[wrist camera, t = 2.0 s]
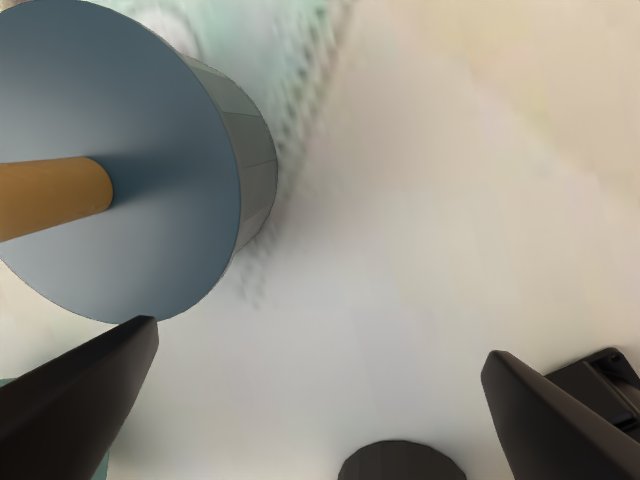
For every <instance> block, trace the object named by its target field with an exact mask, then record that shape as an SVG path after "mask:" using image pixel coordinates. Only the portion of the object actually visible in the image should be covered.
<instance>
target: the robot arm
mask: <svg viewBox="0 0 640 480" xmlns="http://www.w3.org/2000/svg"><path fill="white" fill-rule="evenodd" d="M158 345H159V337H158V327H157V320H156V318H155V317H154V316H147V315H138V316H136V317H134V318H132V319H130V320H128V321H126V322H124V323H122V324H120V325H118V326H116V327H114V328H113V329H111V330H109V331H107V332H105V333H103V334H101V335H99V336H97V337H95V338H93V339H91V340H89V341H88V342H86V343H84V344H82V345H80V346H78V347H76V348H74V349H72V350H70V351H68V352H66V353H65V354H63V355H61V356H59V357H57V358H55V359H53V360H51V361H49V362H47V363H45V364H43V365H41V366H40V367H38V368H36V369H34V370H32V371H30V372H28V373H26V374H24V375H22V376H20V377H18V378H16V379H15V380H13V381H11V382H9V383H7V384H5V385H3V386H1V387H0V480H92V478H93V476H94V474H95V473H96V471H97V469H98V467H99V465H100V464H101V462H102V460H103V458H104V457H105V455H106V453H107V451H108V449H109V448H110V446H111V444H112V442H113V441H114V439H115V437H116V435H117V433H118V432H119V430H120V428H121V426H122V425H123V423H124V421H125V419H126V417H127V416H128V414H129V412H130V410H131V408H132V406H133V404H134V402H135V400H136V398H137V396H138V393H139V391H140V389H141V386H142V384H143V382H144V380H145V377H146V375H147V373H148V370H149V368H150V366H151V363H152V361H153V359H154V356H155V354H156V352H157V349H158ZM614 355H615V356H614ZM612 356H614V357H613V358H611V357H612ZM481 382H482V386H483V389H484V392H485V396H486V399H487V402H488V406H489V409H490V412H491V416H492V419H493V422H494V426H495V429H496V432H497V435H498V438H499V441H500V443H501V446H502V448H503V451H504V453H505V456H506V458H507V461H508V463H509V466H510V468H511V470H512V473H513V475H514V478H515V480H640V378H639V377H638V375H637V374H636V373H635V371H634V370H633V368H632V367H631V365H630V364H629V362H628V361H627V360H626V358H625V357H624V355H623V354H622V353H621V352H619V351H618V350H617V349H615V348H608V349H605V350H603V351H600V352H598V353H596V354H594V355H592V356H589V357H587V358H585V359H583V360H580V361H578V362H576V363H574V364H572V365H569V366H567V367H565V368H563V369H561V370H558V371H556V372H554V373H552V374H549V375H547V376H545V377H543V376H542V375H540V374H539V373H538V372H536V371H535V370H533V369H532V368H530V367H529V366H528V365H526V364H525V363H523V362H522V361H520V360H519V359H518V358H516V357H515V356H513V355H512V354H510V353H509V352H506V351H497V350H493V351H491V352H490V353H489V355H488V357H487V360H486V362H485V364H484V367H483V369H482V372H481Z"/></svg>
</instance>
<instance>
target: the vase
mask: <svg viewBox="0 0 640 480" xmlns="http://www.w3.org/2000/svg"><path fill="white" fill-rule="evenodd" d="M338 480H467V479H466V477H465V474H464V473H463V472H462V471H461V470H460V469H459V468H458V467H457V466H456V465H455V464H454V463H453V461H452V460H451V459H449V458H448V457H446V456H444V455H442V454H440V453H439V452H437V451H435V450H433V449H431V448H429V447H426V446H422V445H418V444H414V443H409V442H405V441H398V442H380V443H377V444H374V445H371V446H368V447H365V448H361V449H359V450H358V451H357V452H356V453H354V454H353V455H352V456H351V457H349V458H348V459H347V460H346V461H345V463H344V465H343V467H342V469H341V471H340V473H339V475H338Z"/></svg>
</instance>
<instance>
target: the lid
mask: <svg viewBox="0 0 640 480" xmlns="http://www.w3.org/2000/svg"><path fill="white" fill-rule="evenodd" d="M244 209H245V193H244V179H243V173H242V167H241V161H240V157H239V154H238V150H237V147H236V143H235V140H234V137H233V134H232V132H231V129H230V127H229V125H228V122H227V120H226V117H225V115H224V113H223V111H222V110H221V108H220V106H219V104H218V103H217V101H216V99H215V97H214V95H213V94H212V92H211V91H210V89H209V88H208V86H207V85H206V84H205V82H204V81H203V80H202V78H201V77H200V75H199V74H198V73H197V71H196V70H195V69H194V68H193V67H192V66H191V65H190V64H189V63H188V62H187V60H186V59H185V58H184V57H183V56H182V55H181V54H180V53H179V52H178V51H177V50H176V49H174V48H173V47H172V46H171V45H170V44H169V43H167V42H166V41H165V40H164V39H163V38H162V37H160V36H159V35H157V34H156V33H154V32H153V31H151V30H150V29H148V28H147V27H145V26H144V25H142V24H141V23H139V22H137V21H135V20H133V19H131V18H129V17H127V16H125V15H123V14H121V13H118V12H116V11H114V10H112V9H110V8H106V7H103V6H100V5H97V4H94V3H91V2H87V1H81V0H34V1H29V2H24V3H21V4H19V5H16V6H14V7H11V8H9V9H6V10H4V11H2V12H1V13H0V259H1V260H2V261H3V262H4V263H5V264H6V265H7V266H8V267H9V268H10V269H11V270H12V271H13V272H14V273H15V274H16V275H17V276H18V277H19V278H20V279H21V280H23V281H24V282H25V283H26V284H27V285H28V286H30V287H31V288H32V289H34V290H35V291H36V292H38V293H39V294H40V295H42V296H43V297H45V298H47V299H48V300H50V301H52V302H53V303H55V304H57V305H58V306H60V307H62V308H65V309H67V310H69V311H71V312H73V313H75V314H78V315H81V316H84V317H86V318H89V319H93V320H97V321H101V322H105V323H112V324H122V323H124V322H126V321H128V320H130V319H132V318H134V317H136V316H138V315H147V316H154V317H155V318H156V320H157V322H158V321H162V320H165V319H169V318H172V317H174V316H176V315H178V314H180V313H182V312H185V311H186V310H188V309H189V308H191V307H192V306H194V305H195V304H197V303H198V302H199V301H200V300H201V299H202V298H204V297H205V296H206V295H207V294H208V293H209V292H210V291H211V290H212V289H213V288H214V287H215V286H216V284H217V283H218V282H219V281H220V279H221V278H222V277H223V275H224V274H225V272H226V270H227V269H228V267H229V265H230V263H231V262H232V260H233V257H234V254H235V252H236V249H237V247H238V244H239V240H240V236H241V232H242V227H243V220H244Z"/></svg>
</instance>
